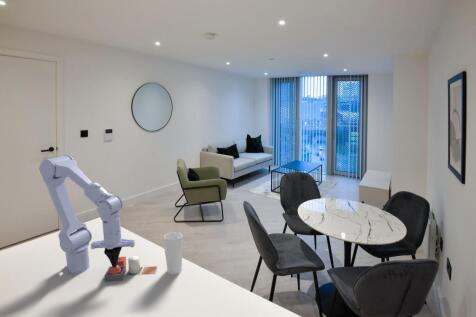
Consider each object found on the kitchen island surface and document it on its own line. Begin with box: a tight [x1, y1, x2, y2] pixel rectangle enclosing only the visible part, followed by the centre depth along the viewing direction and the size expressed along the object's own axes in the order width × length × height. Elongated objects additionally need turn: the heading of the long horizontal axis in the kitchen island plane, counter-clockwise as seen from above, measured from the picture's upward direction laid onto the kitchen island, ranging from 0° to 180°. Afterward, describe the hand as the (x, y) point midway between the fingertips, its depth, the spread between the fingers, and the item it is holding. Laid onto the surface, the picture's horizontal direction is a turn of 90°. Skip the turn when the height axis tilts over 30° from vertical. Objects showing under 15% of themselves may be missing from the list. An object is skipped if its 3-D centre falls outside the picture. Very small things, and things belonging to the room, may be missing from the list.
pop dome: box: [110, 265, 121, 274], centre depth 108 cm, size 4×4×3 cm
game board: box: [125, 265, 158, 276], centre depth 112 cm, size 17×12×1 cm
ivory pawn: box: [127, 255, 141, 274], centre depth 112 cm, size 4×4×5 cm
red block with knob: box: [117, 256, 127, 267], centre depth 115 cm, size 3×3×4 cm
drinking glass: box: [163, 231, 184, 276], centre depth 112 cm, size 7×7×15 cm
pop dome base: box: [104, 265, 127, 282], centre depth 109 cm, size 6×6×2 cm
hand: (114, 265), depth 108 cm, fingers closed, pressing on pop dome
